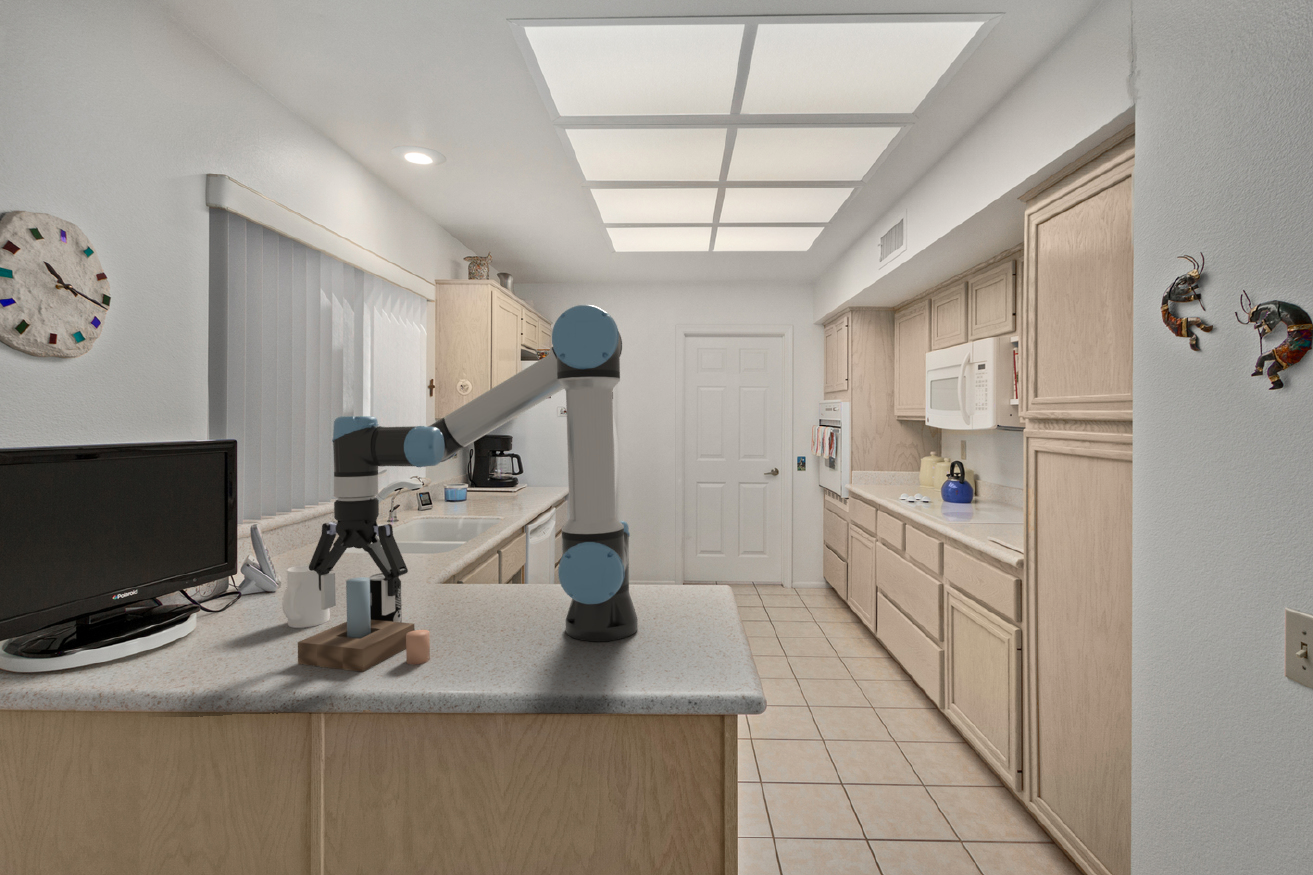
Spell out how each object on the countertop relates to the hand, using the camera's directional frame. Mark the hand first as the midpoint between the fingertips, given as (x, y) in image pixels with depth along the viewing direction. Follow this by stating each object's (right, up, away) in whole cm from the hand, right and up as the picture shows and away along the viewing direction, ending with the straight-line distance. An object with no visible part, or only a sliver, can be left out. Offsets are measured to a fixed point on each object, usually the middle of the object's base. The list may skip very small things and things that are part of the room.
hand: (358, 610), depth 114 cm
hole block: (0, -8, 0) cm, 8 cm away
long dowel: (0, -8, 0) cm, 8 cm away
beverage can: (0, -8, +11) cm, 14 cm away
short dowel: (+13, -8, -3) cm, 15 cm away
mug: (-20, -8, +17) cm, 28 cm away
